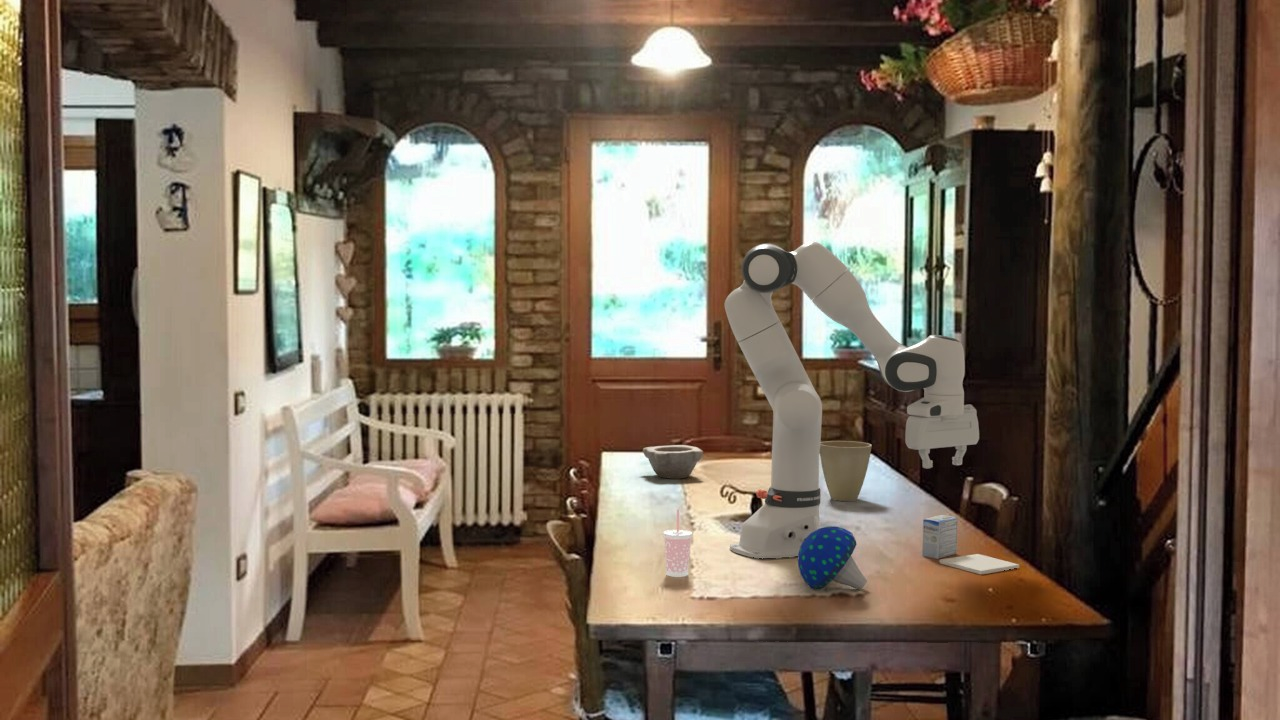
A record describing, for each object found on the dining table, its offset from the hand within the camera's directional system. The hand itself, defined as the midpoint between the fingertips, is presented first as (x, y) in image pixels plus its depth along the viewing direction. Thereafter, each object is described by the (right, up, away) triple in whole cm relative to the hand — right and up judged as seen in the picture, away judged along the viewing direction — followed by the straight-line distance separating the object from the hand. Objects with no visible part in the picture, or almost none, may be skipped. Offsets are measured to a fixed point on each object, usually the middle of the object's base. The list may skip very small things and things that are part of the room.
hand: (942, 466), depth 282 cm
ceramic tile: (+6, -21, -9) cm, 24 cm away
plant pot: (-11, -16, +71) cm, 74 cm away
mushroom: (-30, -23, -30) cm, 48 cm away
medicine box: (0, -21, +1) cm, 21 cm away
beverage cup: (-61, -21, -20) cm, 68 cm away
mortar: (-59, -13, +107) cm, 123 cm away
